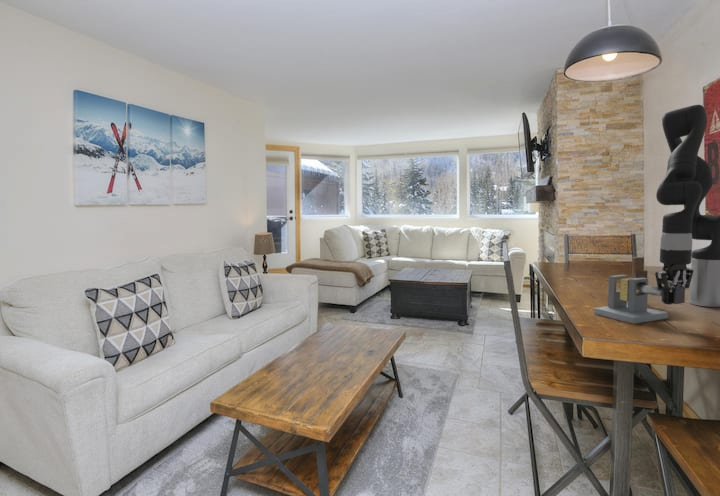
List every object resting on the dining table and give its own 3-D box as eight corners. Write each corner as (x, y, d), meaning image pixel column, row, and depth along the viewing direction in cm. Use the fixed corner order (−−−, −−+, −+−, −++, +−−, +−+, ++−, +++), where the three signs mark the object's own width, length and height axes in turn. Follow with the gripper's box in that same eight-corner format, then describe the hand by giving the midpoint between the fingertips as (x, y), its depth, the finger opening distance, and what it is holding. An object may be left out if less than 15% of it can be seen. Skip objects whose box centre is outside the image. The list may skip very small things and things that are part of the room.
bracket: (626, 308, 144) (627, 273, 143) (667, 318, 131) (669, 278, 129) (594, 313, 138) (594, 276, 137) (633, 323, 125) (634, 282, 124)
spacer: (634, 297, 136) (635, 277, 136) (641, 298, 134) (642, 278, 133) (620, 299, 134) (620, 279, 133) (627, 300, 131) (627, 280, 131)
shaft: (629, 292, 136) (630, 278, 136) (684, 302, 120) (685, 286, 120) (621, 293, 135) (621, 279, 134) (675, 304, 119) (676, 287, 118)
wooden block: (634, 308, 144) (635, 259, 142) (629, 302, 153) (631, 256, 152) (646, 309, 142) (648, 260, 141) (641, 303, 152) (643, 256, 150)
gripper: (678, 245, 126) (675, 298, 127) (646, 248, 121) (644, 303, 123) (705, 247, 118) (702, 303, 120) (673, 250, 114) (670, 308, 115)
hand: (672, 302), depth 121 cm, fingers closed on shaft, 4 cm apart
